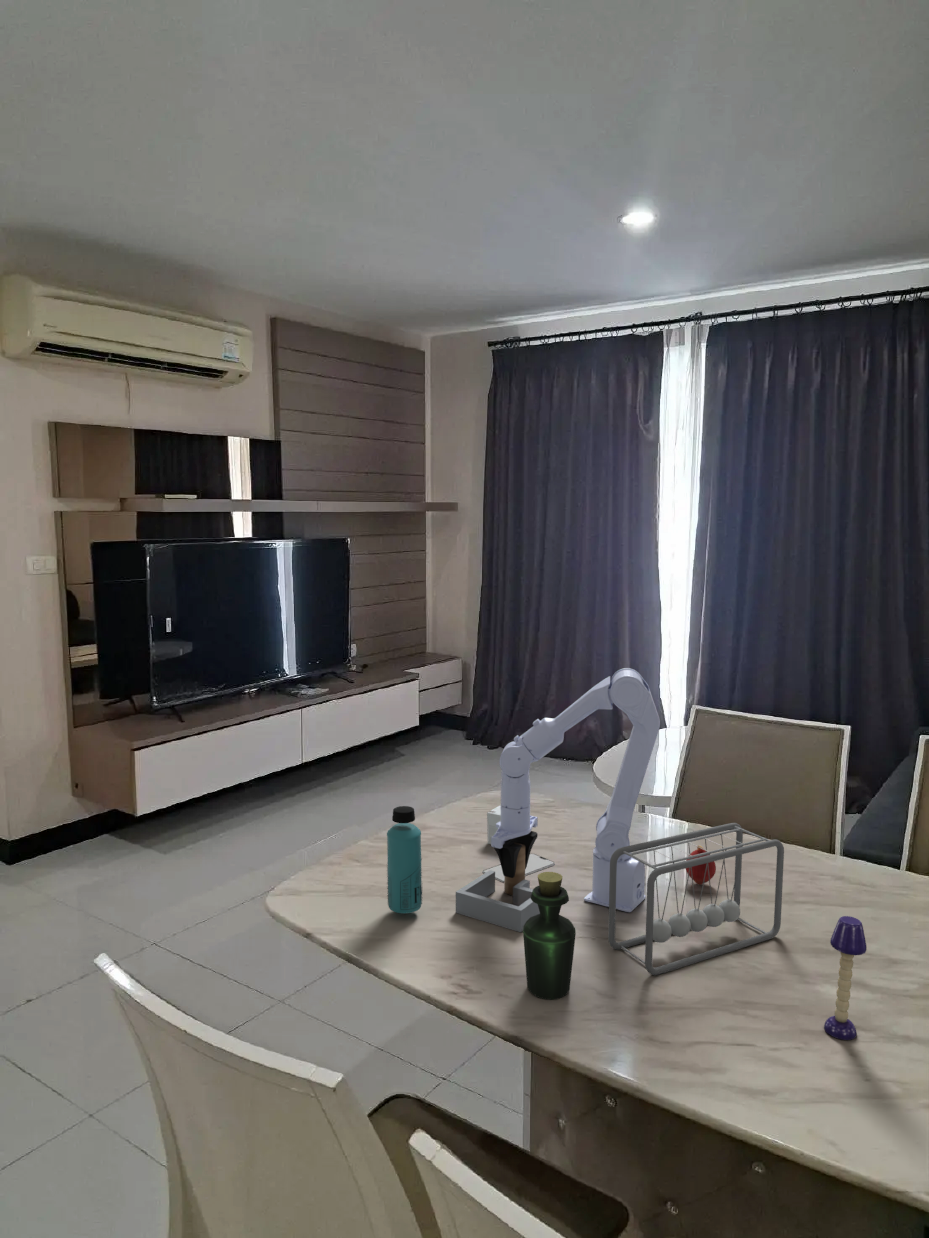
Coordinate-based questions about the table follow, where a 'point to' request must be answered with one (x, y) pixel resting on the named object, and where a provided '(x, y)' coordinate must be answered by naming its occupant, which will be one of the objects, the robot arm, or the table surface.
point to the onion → (701, 868)
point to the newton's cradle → (695, 917)
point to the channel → (496, 903)
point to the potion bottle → (549, 940)
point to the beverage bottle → (404, 862)
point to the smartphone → (533, 866)
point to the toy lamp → (845, 974)
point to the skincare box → (493, 822)
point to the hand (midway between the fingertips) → (514, 872)
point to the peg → (519, 873)
